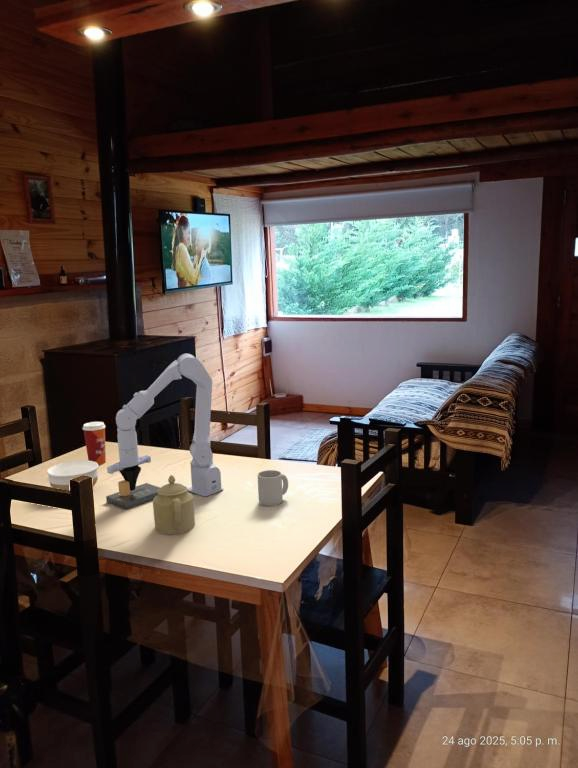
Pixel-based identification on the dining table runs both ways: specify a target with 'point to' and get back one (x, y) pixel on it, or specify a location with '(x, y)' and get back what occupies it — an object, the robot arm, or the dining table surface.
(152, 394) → the robot arm
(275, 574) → the dining table surface
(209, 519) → the dining table surface
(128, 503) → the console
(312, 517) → the dining table surface
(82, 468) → the bowl
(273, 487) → the cup
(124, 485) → the fader
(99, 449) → the coffee cup
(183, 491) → the sugar bowl
